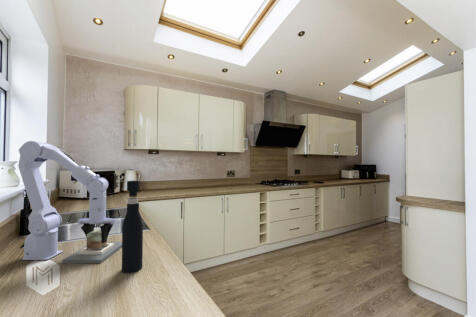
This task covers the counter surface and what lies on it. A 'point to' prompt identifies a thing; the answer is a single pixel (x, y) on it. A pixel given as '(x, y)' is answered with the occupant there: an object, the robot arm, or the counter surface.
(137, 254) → the wine bottle
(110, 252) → the pocket board
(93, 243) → the block stack
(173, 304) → the counter surface
